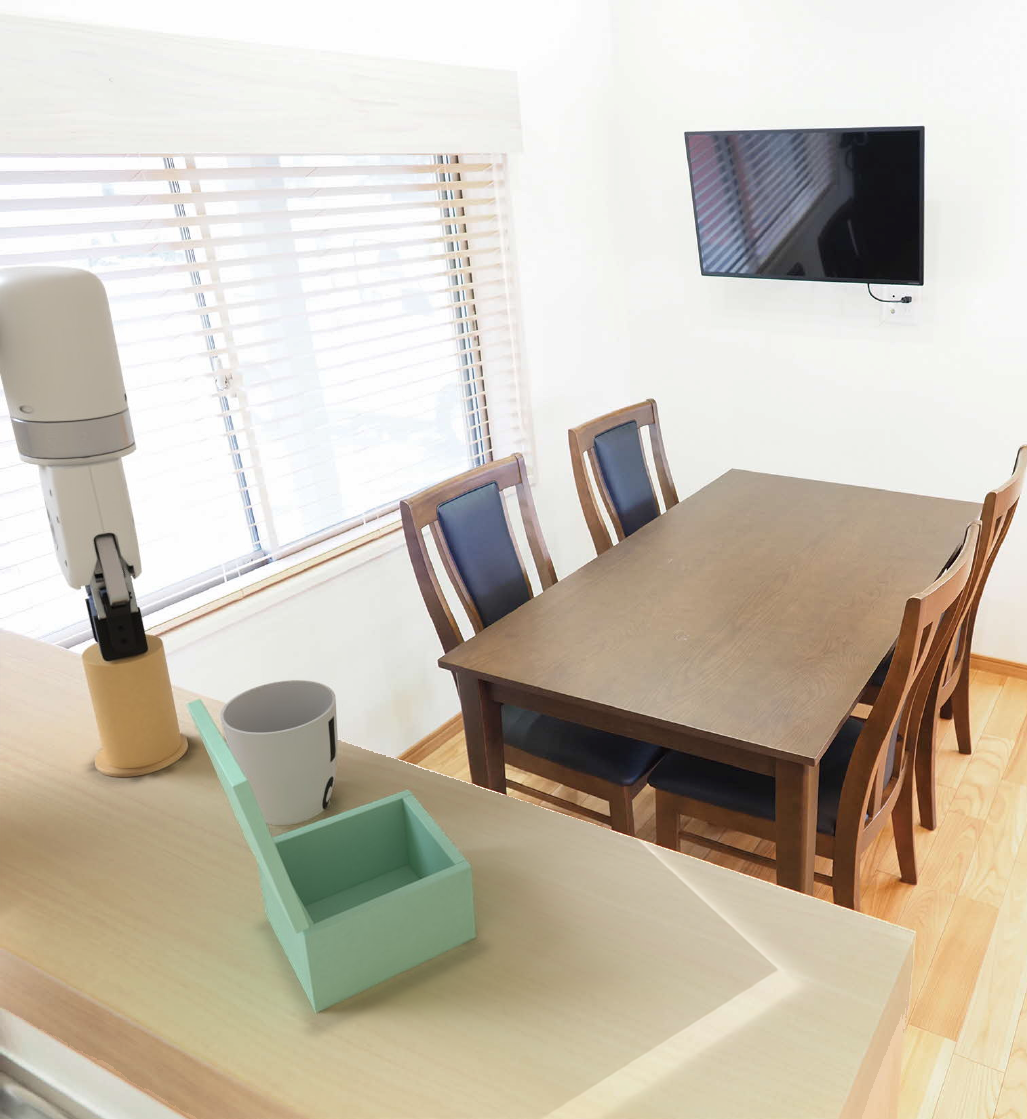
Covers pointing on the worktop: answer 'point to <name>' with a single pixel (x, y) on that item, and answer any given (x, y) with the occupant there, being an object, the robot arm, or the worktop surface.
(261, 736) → the cup
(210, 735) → the lid
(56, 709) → the worktop surface
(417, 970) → the worktop surface
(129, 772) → the coaster
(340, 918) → the mint green lidded box
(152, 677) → the tan cardboard cylinder
